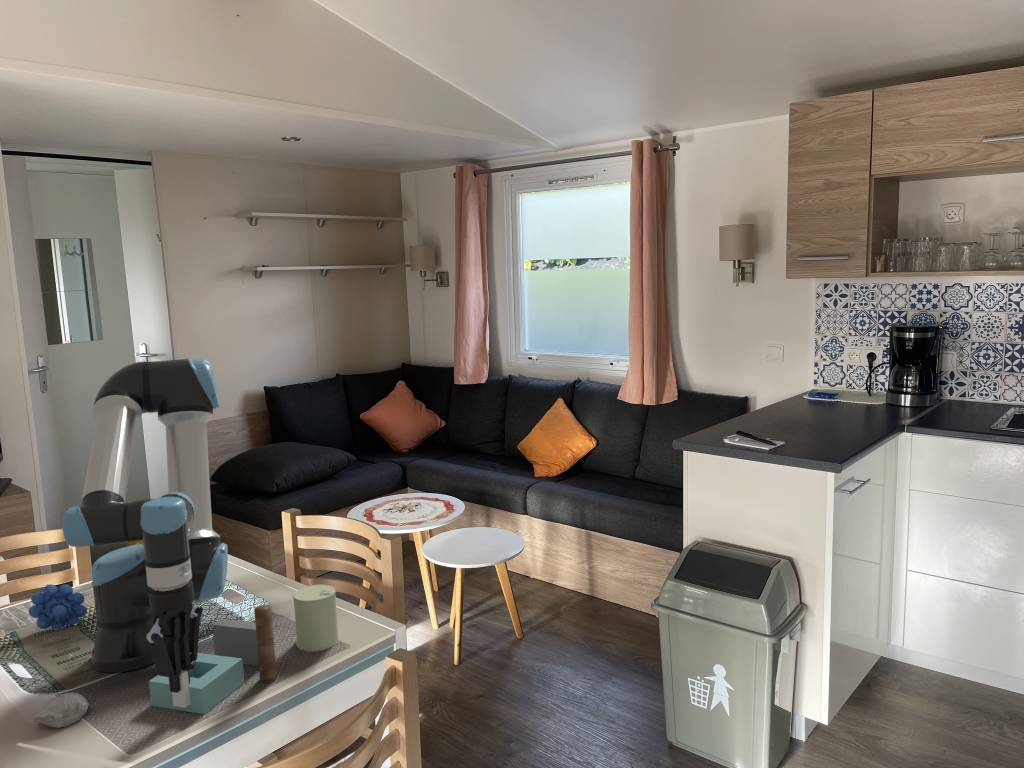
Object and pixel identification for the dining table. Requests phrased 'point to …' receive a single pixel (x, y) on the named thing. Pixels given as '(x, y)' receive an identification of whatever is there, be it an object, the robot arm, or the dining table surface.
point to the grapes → (57, 607)
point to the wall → (236, 640)
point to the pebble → (63, 710)
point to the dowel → (265, 643)
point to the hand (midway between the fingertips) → (182, 704)
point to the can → (316, 617)
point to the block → (202, 683)
